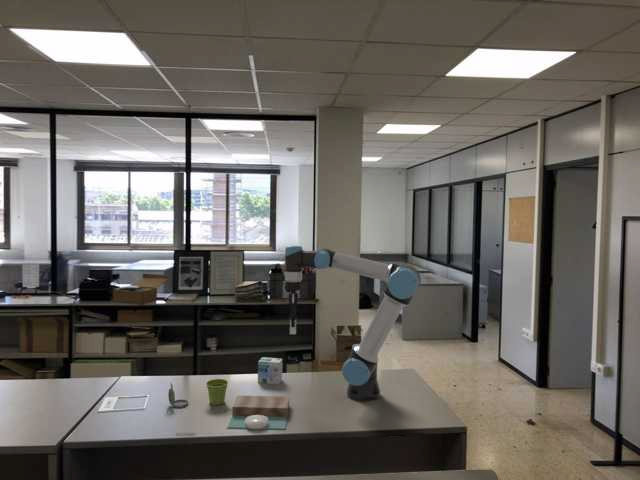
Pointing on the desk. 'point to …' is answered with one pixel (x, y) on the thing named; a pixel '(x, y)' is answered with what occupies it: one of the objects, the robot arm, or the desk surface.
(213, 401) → the plant pot
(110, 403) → the photo frame
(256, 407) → the board
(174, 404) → the pocket watch
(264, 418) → the white domed disc
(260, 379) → the light bulb box
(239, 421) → the mat
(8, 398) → the desk surface
